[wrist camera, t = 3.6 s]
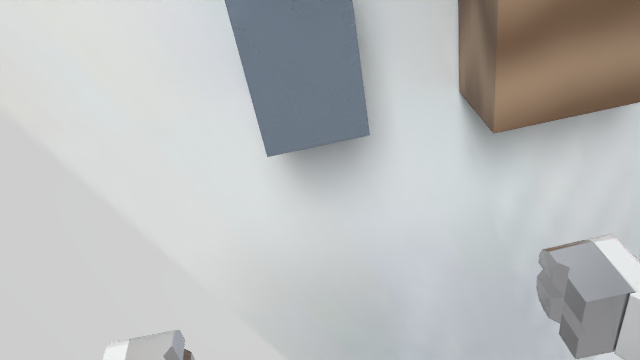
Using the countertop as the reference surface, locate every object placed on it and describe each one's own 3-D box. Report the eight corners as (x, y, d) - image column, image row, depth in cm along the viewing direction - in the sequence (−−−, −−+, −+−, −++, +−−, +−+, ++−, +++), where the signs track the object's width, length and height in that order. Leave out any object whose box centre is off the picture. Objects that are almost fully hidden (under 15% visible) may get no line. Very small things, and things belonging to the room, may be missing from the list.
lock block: (224, -46, 25) (220, -14, 20) (325, -67, 25) (347, -40, 20) (262, 101, 29) (267, 156, 25) (348, 83, 30) (369, 135, 25)
